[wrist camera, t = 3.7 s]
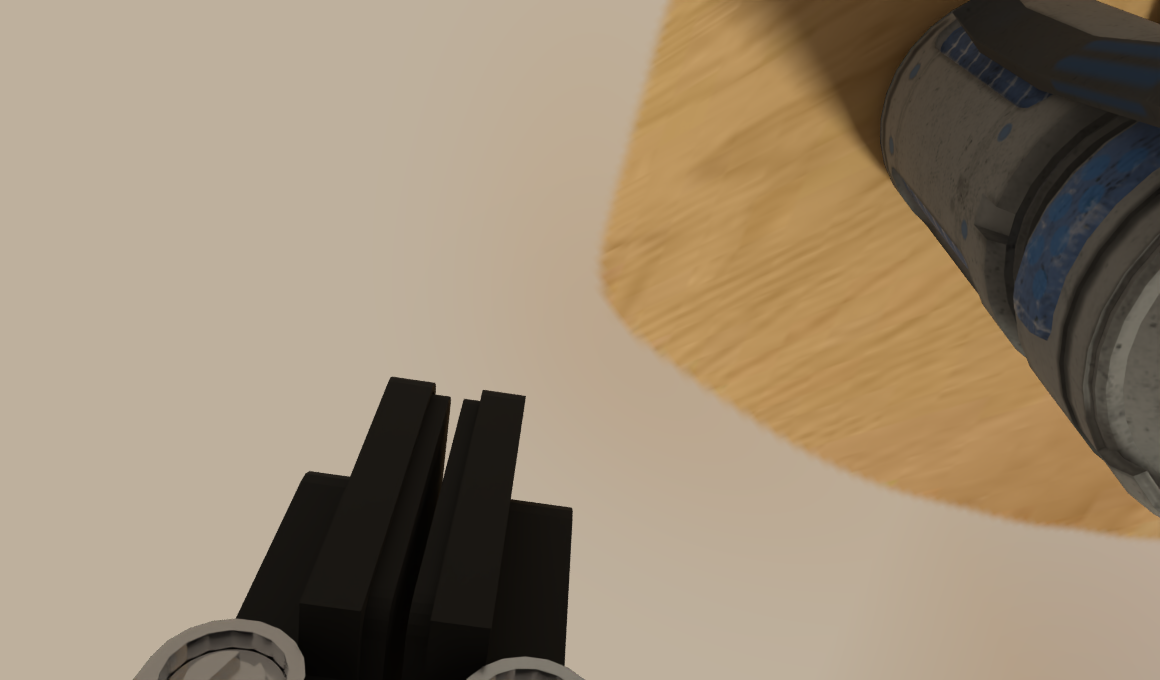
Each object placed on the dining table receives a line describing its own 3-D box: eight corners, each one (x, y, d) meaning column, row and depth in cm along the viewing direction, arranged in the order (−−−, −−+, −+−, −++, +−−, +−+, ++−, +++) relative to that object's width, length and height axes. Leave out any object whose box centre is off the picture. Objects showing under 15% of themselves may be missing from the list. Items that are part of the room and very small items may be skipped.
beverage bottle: (1040, -132, 37) (1673, -68, 15) (1166, 153, 41) (1786, 527, 19) (800, 27, 40) (1021, 279, 18) (943, 275, 44) (1259, 720, 22)
